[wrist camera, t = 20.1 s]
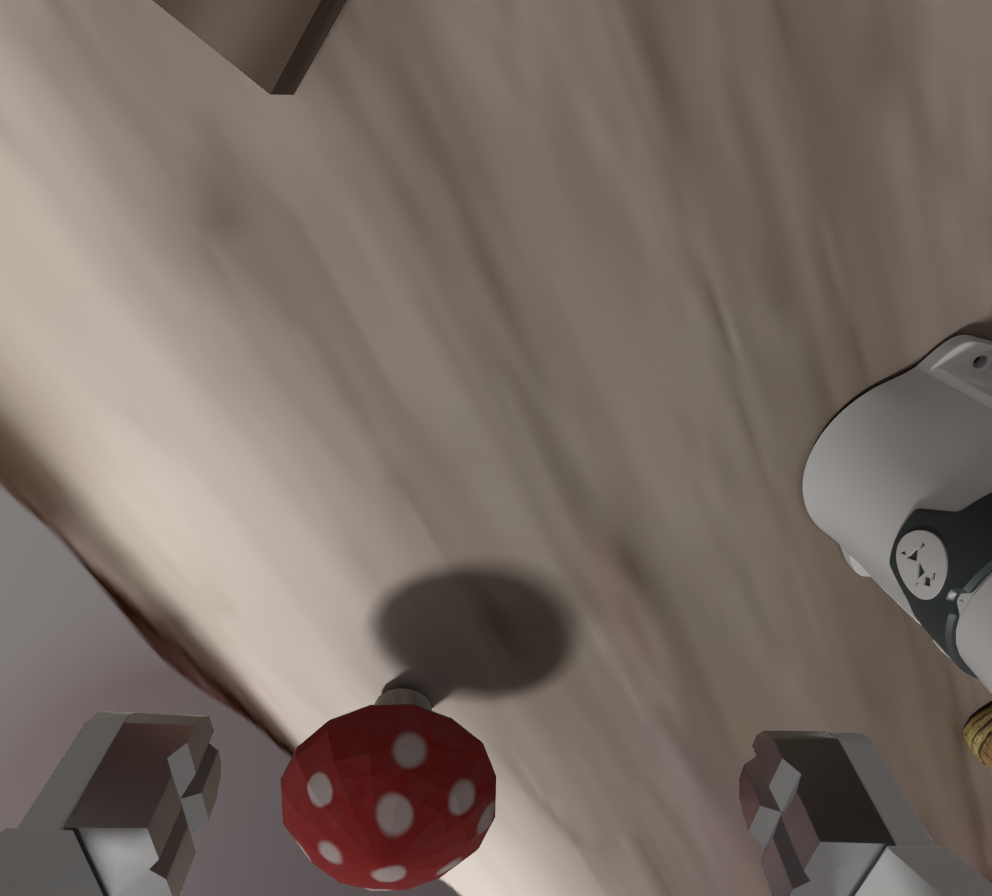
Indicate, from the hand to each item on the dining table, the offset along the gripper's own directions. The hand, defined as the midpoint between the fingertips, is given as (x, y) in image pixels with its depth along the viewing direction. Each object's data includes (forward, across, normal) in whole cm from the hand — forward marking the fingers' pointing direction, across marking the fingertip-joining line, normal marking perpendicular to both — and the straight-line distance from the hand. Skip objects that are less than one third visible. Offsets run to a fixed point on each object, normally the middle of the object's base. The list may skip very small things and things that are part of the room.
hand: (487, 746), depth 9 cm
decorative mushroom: (+31, -5, -37) cm, 49 cm away
